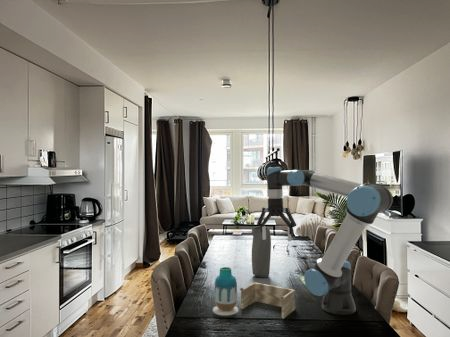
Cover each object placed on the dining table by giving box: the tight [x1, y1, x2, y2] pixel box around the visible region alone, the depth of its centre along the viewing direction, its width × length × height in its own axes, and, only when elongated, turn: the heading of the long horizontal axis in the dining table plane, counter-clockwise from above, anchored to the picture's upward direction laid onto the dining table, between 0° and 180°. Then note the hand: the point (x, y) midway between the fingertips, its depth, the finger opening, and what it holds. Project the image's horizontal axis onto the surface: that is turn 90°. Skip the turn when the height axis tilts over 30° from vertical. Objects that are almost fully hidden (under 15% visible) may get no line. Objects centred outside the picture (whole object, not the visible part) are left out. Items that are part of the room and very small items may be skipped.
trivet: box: [212, 305, 239, 316], centre depth 163 cm, size 12×12×1 cm
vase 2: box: [251, 226, 272, 278], centre depth 218 cm, size 12×12×30 cm
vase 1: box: [214, 266, 238, 310], centre depth 163 cm, size 11×11×19 cm
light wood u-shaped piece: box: [239, 282, 296, 320], centre depth 164 cm, size 22×14×10 cm, turn 56°
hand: (276, 240), depth 174 cm, fingers open, 13 cm apart
